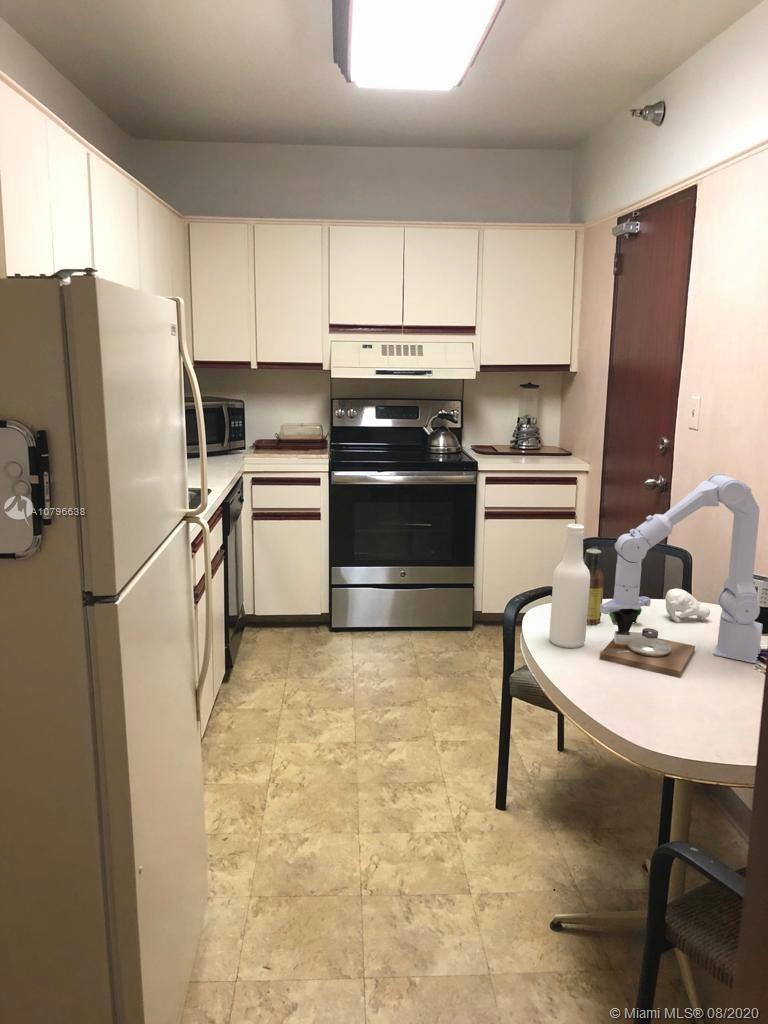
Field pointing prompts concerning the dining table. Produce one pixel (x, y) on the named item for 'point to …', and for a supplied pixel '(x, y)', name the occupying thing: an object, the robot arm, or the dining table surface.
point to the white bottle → (570, 593)
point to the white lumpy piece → (685, 605)
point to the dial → (643, 642)
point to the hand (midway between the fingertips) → (622, 637)
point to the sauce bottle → (594, 585)
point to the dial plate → (651, 658)
